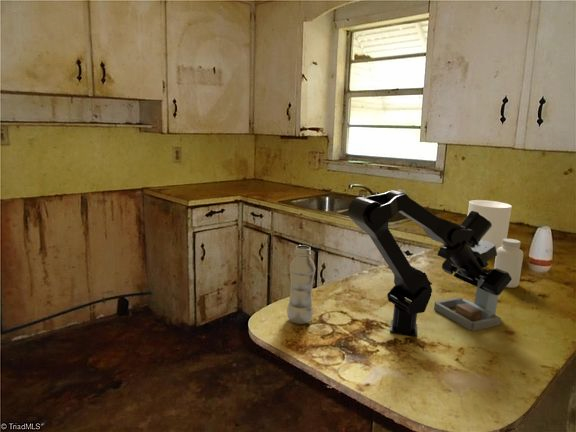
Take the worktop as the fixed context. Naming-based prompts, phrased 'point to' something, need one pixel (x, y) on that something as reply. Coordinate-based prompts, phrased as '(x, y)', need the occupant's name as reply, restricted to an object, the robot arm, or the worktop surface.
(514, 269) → the pill bottle
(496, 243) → the canister
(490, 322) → the grey u-shaped bar
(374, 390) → the worktop surface
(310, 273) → the plastic bottle
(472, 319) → the block
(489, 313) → the grey upright block
